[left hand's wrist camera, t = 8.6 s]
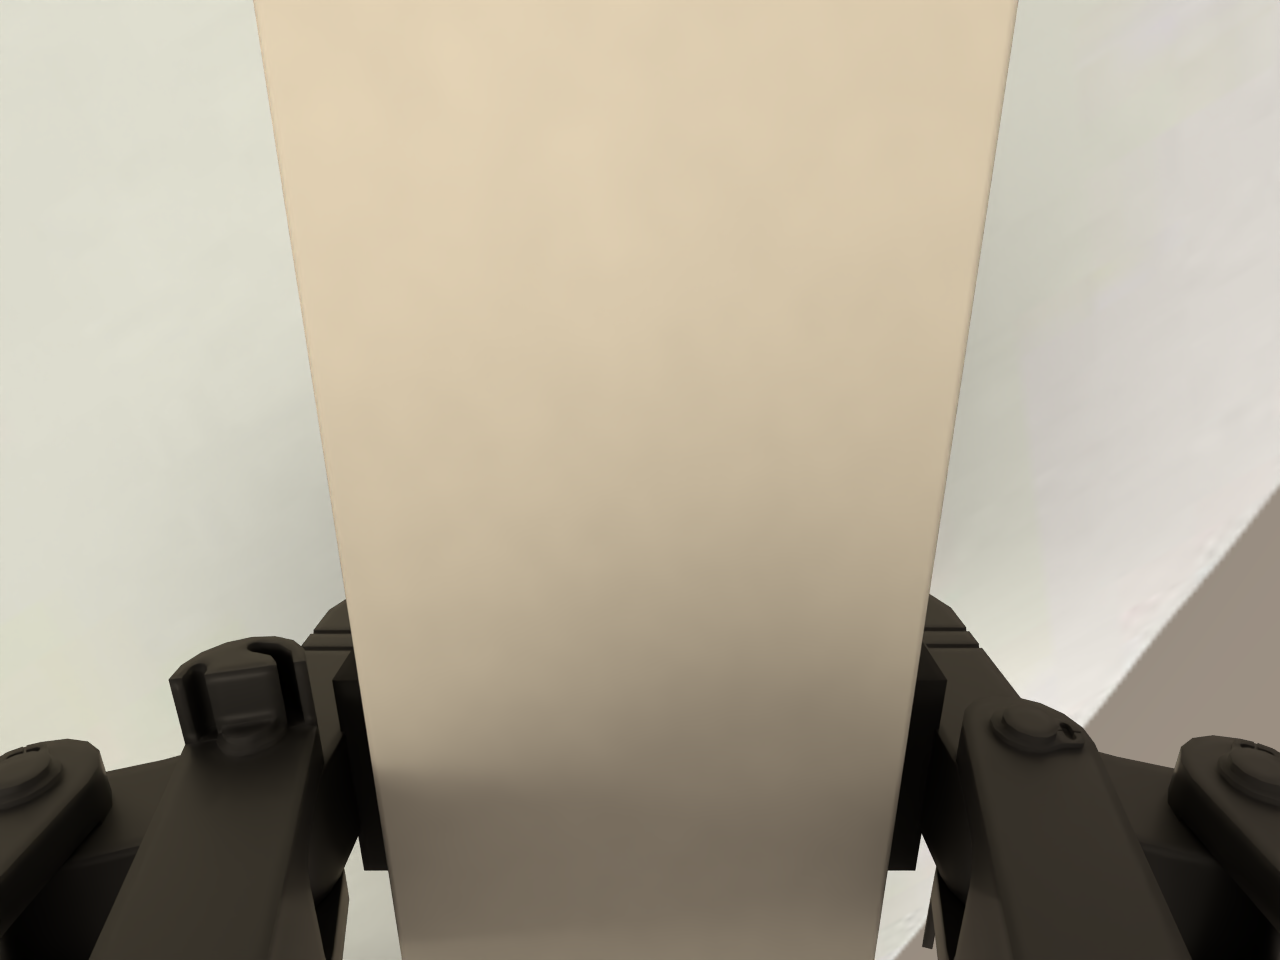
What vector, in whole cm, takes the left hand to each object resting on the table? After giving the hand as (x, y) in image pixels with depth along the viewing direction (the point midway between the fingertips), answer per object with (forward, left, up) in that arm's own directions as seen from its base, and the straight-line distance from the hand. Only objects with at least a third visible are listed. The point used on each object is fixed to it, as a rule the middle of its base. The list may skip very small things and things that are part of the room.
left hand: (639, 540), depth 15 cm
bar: (+30, +13, -1) cm, 32 cm away
